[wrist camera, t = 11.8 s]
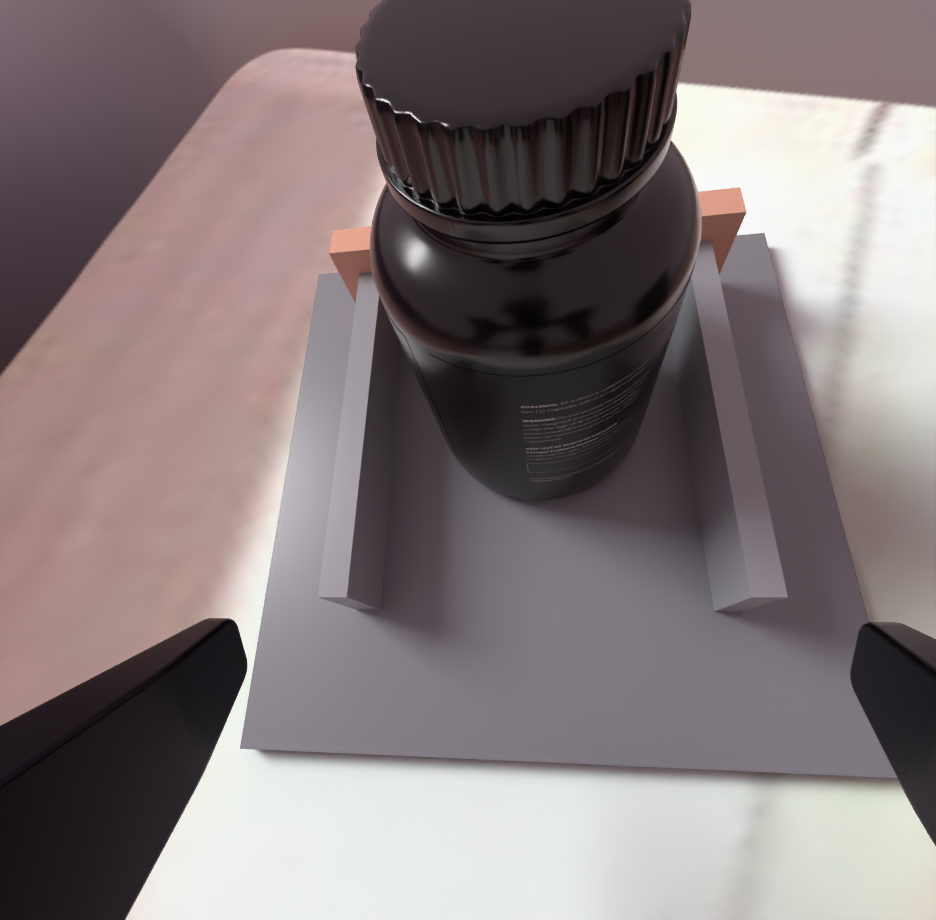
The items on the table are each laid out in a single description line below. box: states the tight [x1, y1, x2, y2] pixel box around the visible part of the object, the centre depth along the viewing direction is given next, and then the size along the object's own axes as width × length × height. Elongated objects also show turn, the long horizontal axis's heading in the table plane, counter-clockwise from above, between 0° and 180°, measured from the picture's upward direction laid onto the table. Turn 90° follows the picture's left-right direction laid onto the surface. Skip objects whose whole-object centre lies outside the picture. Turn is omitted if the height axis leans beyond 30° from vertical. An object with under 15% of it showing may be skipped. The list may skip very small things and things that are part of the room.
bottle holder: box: [240, 188, 897, 778], centre depth 16 cm, size 18×18×5 cm
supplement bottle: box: [355, 0, 702, 500], centre depth 13 cm, size 7×7×12 cm
